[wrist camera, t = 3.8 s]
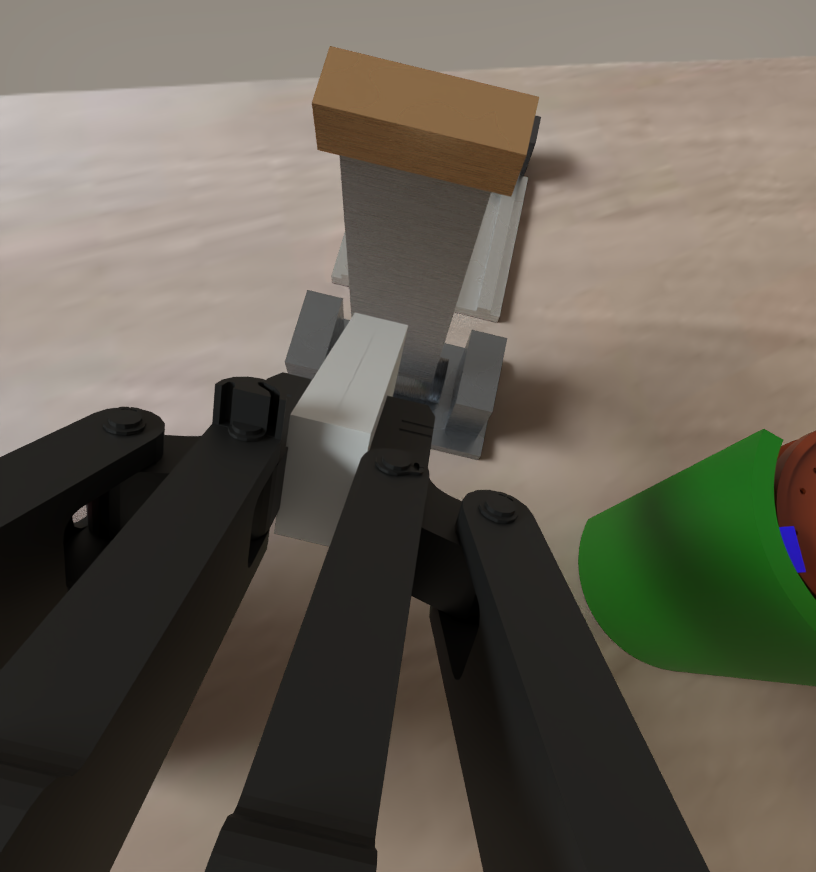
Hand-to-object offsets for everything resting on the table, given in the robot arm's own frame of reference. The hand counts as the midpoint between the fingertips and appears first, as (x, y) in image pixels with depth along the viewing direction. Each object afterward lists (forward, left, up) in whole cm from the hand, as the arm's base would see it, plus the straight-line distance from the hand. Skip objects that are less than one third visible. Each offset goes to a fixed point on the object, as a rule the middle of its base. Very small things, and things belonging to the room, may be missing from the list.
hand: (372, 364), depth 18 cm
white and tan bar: (0, -6, -15) cm, 17 cm away
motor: (-17, +1, -17) cm, 24 cm away
